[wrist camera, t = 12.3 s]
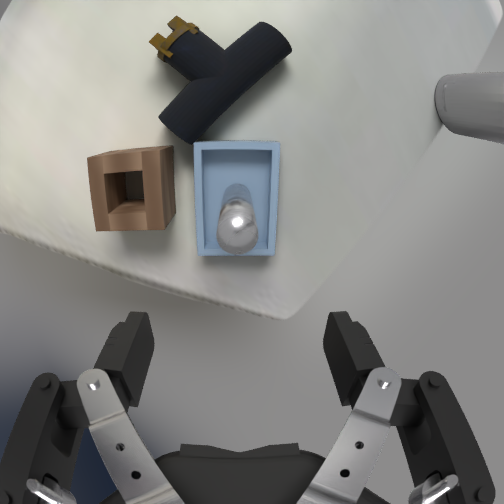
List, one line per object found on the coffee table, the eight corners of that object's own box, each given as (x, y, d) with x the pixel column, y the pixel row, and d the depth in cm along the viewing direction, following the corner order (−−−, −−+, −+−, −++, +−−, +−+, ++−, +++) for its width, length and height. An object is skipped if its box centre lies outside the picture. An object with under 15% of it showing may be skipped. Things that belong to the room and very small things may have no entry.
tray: (276, 141, 31) (280, 142, 28) (271, 245, 36) (274, 255, 34) (197, 141, 30) (193, 142, 28) (200, 245, 36) (197, 255, 33)
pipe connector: (110, 80, 22) (215, -18, 18) (127, 85, 27) (217, 0, 23) (188, 146, 26) (296, 46, 22) (195, 142, 31) (286, 57, 27)
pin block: (172, 145, 30) (159, 150, 25) (175, 212, 34) (164, 229, 28) (109, 151, 30) (87, 157, 24) (115, 214, 33) (96, 231, 28)
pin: (251, 183, 32) (259, 215, 21) (250, 210, 33) (257, 254, 22) (222, 183, 32) (215, 215, 21) (223, 210, 33) (216, 254, 22)
